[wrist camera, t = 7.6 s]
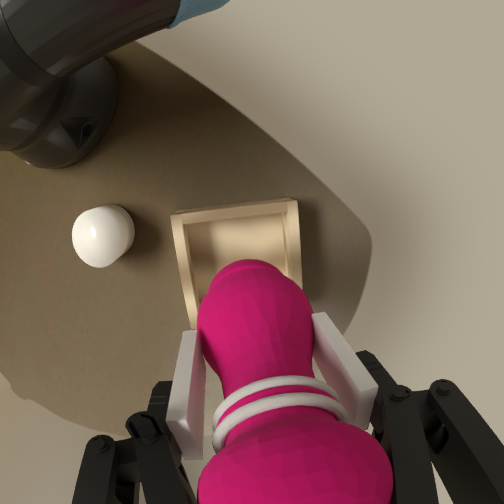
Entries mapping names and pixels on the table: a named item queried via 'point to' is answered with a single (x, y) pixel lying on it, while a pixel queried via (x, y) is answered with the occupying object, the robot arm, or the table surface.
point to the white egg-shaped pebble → (103, 235)
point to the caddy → (234, 242)
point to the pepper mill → (278, 402)
